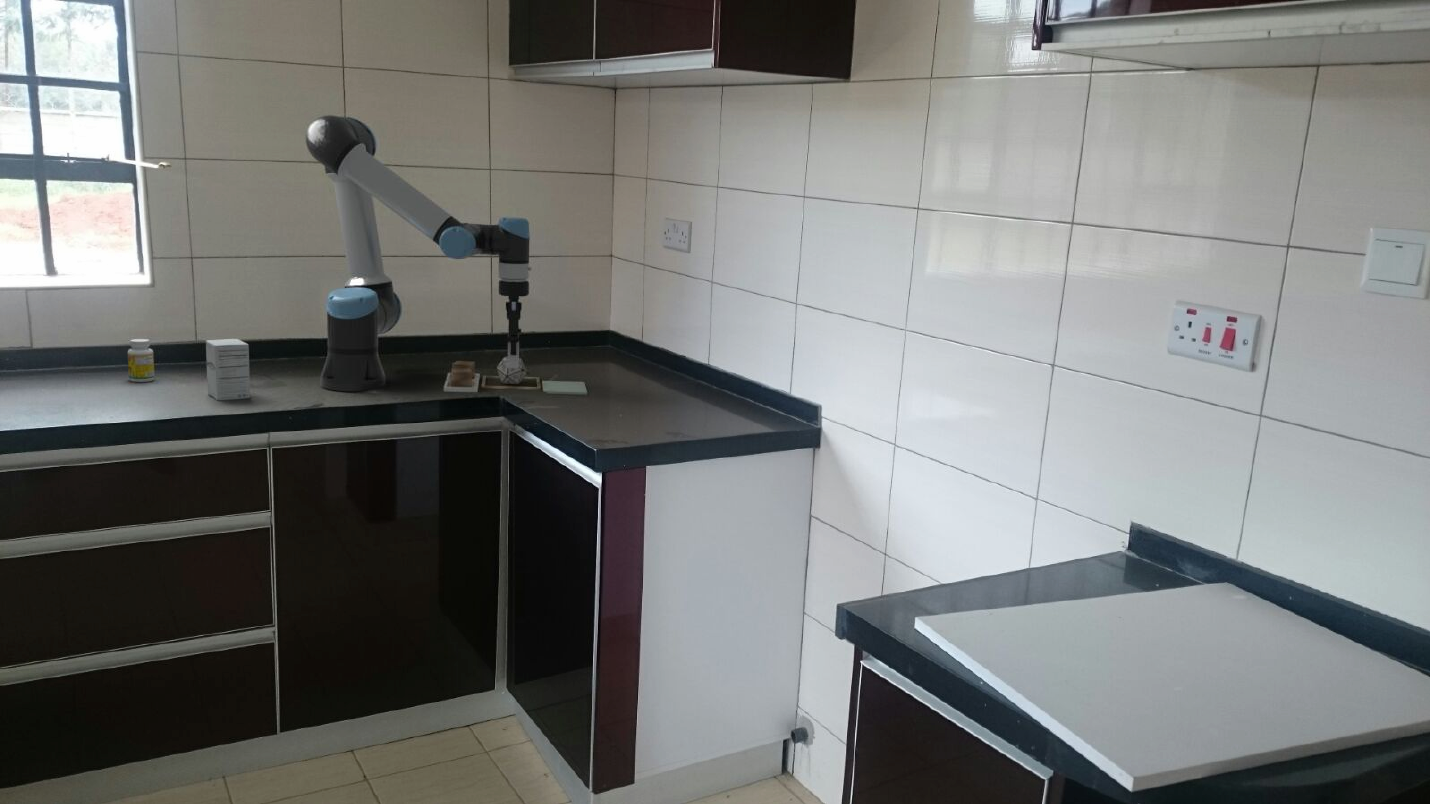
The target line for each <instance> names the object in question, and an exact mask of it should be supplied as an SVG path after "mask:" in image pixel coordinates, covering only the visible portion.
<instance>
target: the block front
mask: <svg viewBox="0 0 1430 804" xmlns="http://www.w3.org/2000/svg"><path fill="white" fill-rule="evenodd" d="M450 373H451V387H472V371H471V370H470V369H452V368H451V369H450Z"/></svg>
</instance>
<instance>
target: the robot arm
mask: <svg viewBox="0 0 1430 804" xmlns="http://www.w3.org/2000/svg"><path fill="white" fill-rule="evenodd" d="M305 144H306V147H307V150H308V152H309V153H310V155H311V156H312V157H313V158H314V160H316V161H317V162H318V163H320V164H321V165H323V166H324V172H325V175H326V177H328V178H329V179H330V180H331V181H332V182H333V186H334V191H335V197H336V205H337V211H338V216H339V222H340V223H339V224H340V229H341V234H342V241H343V246H344V253H345V259H346V264H347V270H348V271H347V272H348V277H349V278H348V279H347V280H346V282H345V283H344V288H338V289H335V290H333V291H330V293H329V294H328V296H327V304H326V306H325V307H326V308H325V309H326V319H327V320H326V325H327V329H326V330H327V356H326V359H325V362H324V366H323V369H322V371H321V374H320V387H321V388H323V389H327V390H331V391H335V392H336V391H339V392H367V391H370V390H371V389H372V390H374V389H378V388H382V387H384V386H386V375H385V371H384V369H383V365H382V363H381V360H380V357H379V335H383V334H386V333H388V332H390V331H391V330H392V329H393V328H394V327H396V326H397V324H398V323H399V322H400V319H401V317H402V312H403V306H402V302H401V299H400V297H399V296H398V294H397V293H396V292H394V286H393V280H392V279H391V278H390V277H389V276H387V275H386V273H385V268H384V263H383V256H382V249H381V244H380V238H379V237H380V236H379V231H378V224H377V218H376V212H375V206H374V199H373V198H375V199H376V200H377V201H379V202H380V203H382V204H383V205H384V206H385V207H387V208H389V210H390V211H392V212H394V213H395V214H396V215H398V216H399V217H400V218H401V219H403V220H404V221H406V222H407V223H408V224H409V225H411V226H412V227H414V228H415V229H417V230H418V231H419V232H421V233H422V234H423V235H425V236H426V237H427V238H428V239H430V240H431V241H433V242H434V243H435V244H436V245H437V246H439V248H440V251H441V252H442V253H443V254H444V256H446V257H447V258H450V259H453V260H463V259H464V260H465V259H467V258H468V257H472V256H476V255H481V256H483V255H484V256H485V255H489V256H498V278H499V279H500V280H499V281H498V295H500V296H501V297H502V296H503V297H508V301H506V302H505V310H506V320H508V325H507V326H508V335H507V338H505V341H504V342H505V343H507V357H508V368H519V357H520V355H519V354H520V334H521V333H522V328H520V327H519V322H520V320H521V312H522V306H523V304H522V302H519V300H520V297H527V296H529V295H530V282H529V281H528V279H529V277H530V271H532V270H533V269H532V266H530V238H531V237H530V223H529V220H528V219H526V218H524V217H508V216H506V217H505V216H503V217H500V218H499V219H498V223H497V224H481V223H468V222H461V221H459V220H458V219H457V218H455V217H454V216H453V215H451V214H450V213H449V212H448V211H446V210H445V209H444V208H442V206H439V205H438V204H437V203H435V201H433V200H432V199H430V198H429V197H427V196H426V195H425V194H423V192H421V191H419V189H417V188H416V187H414V186H413V185H412V184H411V183H409V182H407V181H406V180H405V179H404V178H402V177H401V176H400V175H399V174H397V173H396V172H394V171H393V170H392V169H390V168H389V167H388V166H386V165H385V164H384V163H382V162H381V161H380V160H379V159H377V158H376V157H375V155H376V152H377V140H376V137H375V135H374V132H373V131H372V130H371V128H370V127H369V126H368V125H367V124H366V123H364V122H362V121H361V120H360V119H356V118H354V117H350V116H348V117H347V116H337V115H332V114H331V115H330V114H328V115H322V116H319V117H318V118H316V119H314V120H313V121H312V122H311V123H310V124H309V126H308V128H307V129H306V133H305Z"/></svg>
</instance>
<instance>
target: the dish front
mask: <svg viewBox="0 0 1430 804" xmlns="http://www.w3.org/2000/svg"><path fill="white" fill-rule="evenodd" d="M479 385H480V381H479V382H478V381H472V387H451V381H446V380H445V382H444V385H443V392H450V393H451V392H453V393H478V391H479Z"/></svg>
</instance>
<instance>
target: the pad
mask: <svg viewBox="0 0 1430 804" xmlns="http://www.w3.org/2000/svg"><path fill="white" fill-rule="evenodd" d="M541 387H542V391H543V392H545V393H546V394H549V395H550V394H551V395H580V396H581V395H583V396H584V395H586V396H587V395H588V390H587V387H586V384H585V382H584V381H566V380H565V381H563V380H562V381H561V380H559V381H558V380H541Z"/></svg>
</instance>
